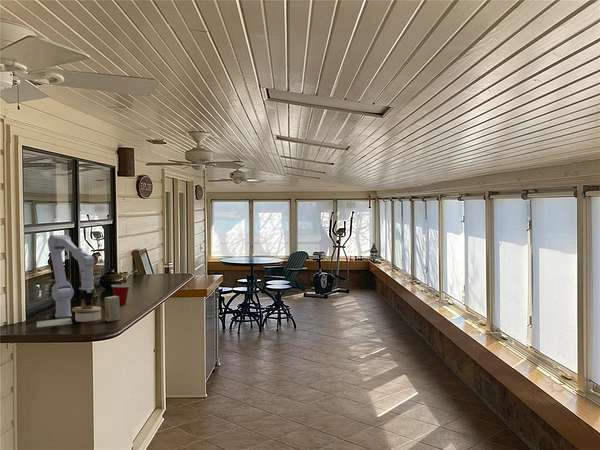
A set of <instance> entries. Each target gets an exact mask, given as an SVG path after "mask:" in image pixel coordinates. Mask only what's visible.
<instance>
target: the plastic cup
mask: <svg viewBox="0 0 600 450" xmlns="http://www.w3.org/2000/svg"><path fill="white" fill-rule="evenodd" d="M130 287H131V285H129V284H111V289H112V293H113V296H119V304H120V306H125V305H126V304H127V299H128V292H129V290H130Z"/></svg>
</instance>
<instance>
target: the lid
mask: <svg viewBox="0 0 600 450" xmlns="http://www.w3.org/2000/svg"><path fill="white" fill-rule="evenodd" d="M93 302H94V300H93V299H92V300H91V305H89V306H86V303H85V299H84V298H82V299H81V306H75V307H72V309H71V311H72V312H74V313H75V312H97V311H101V312H102V307H101V306H94V305H93Z"/></svg>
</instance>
